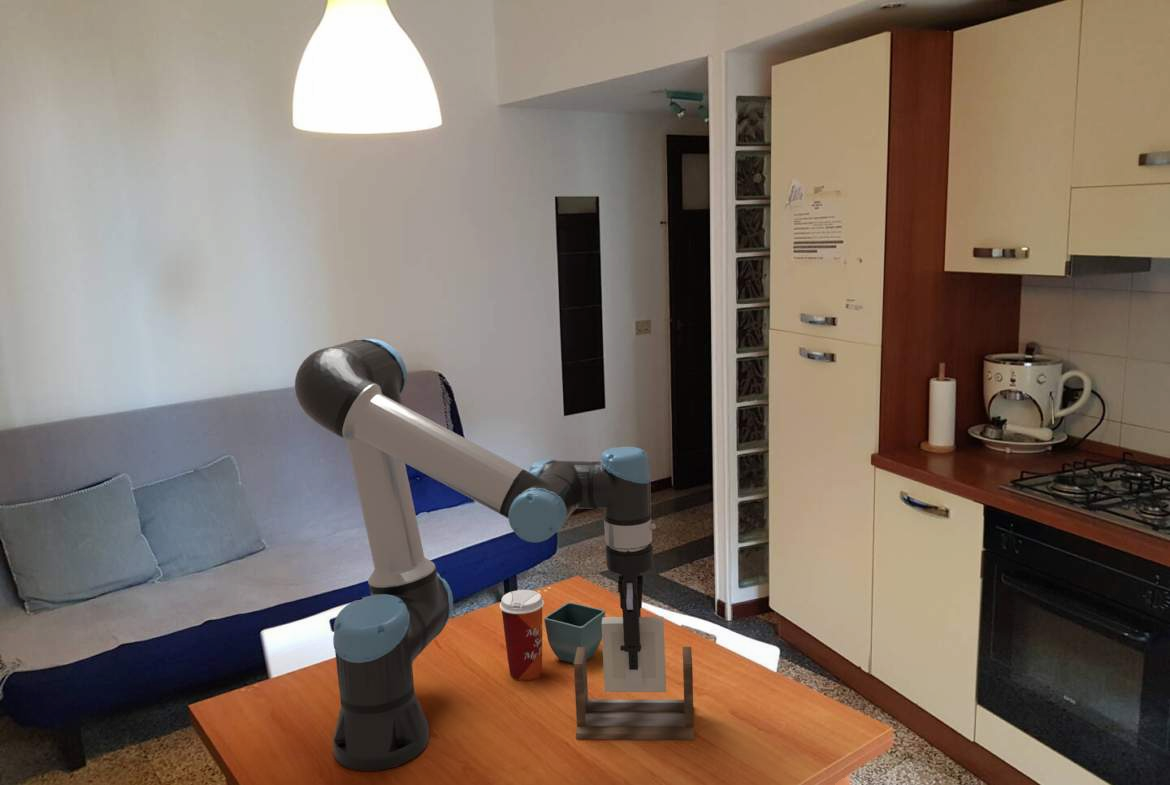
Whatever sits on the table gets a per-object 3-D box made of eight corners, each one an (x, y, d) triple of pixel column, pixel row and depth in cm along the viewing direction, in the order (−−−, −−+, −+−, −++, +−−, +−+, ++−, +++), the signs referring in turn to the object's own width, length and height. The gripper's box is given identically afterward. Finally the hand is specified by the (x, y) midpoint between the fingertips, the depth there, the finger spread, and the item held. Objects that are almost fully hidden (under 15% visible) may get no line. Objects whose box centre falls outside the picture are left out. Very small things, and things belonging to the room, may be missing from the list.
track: (576, 738, 144) (572, 669, 142) (581, 706, 154) (578, 641, 152) (694, 739, 142) (692, 670, 140) (692, 707, 152) (690, 641, 150)
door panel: (604, 692, 146) (601, 623, 144) (605, 684, 149) (602, 617, 147) (666, 692, 145) (663, 623, 143) (665, 684, 148) (663, 616, 146)
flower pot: (608, 653, 173) (606, 609, 171) (583, 672, 166) (581, 627, 164) (570, 643, 178) (568, 601, 176) (545, 662, 170) (542, 618, 169)
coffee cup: (541, 685, 162) (537, 607, 159) (498, 682, 163) (493, 605, 161) (552, 663, 170) (548, 588, 167) (511, 660, 172) (506, 587, 169)
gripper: (652, 561, 135) (657, 705, 139) (653, 527, 150) (658, 657, 154) (602, 562, 135) (609, 705, 139) (608, 528, 151) (614, 658, 155)
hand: (634, 680), depth 147 cm, fingers closed on door panel, 2 cm apart
